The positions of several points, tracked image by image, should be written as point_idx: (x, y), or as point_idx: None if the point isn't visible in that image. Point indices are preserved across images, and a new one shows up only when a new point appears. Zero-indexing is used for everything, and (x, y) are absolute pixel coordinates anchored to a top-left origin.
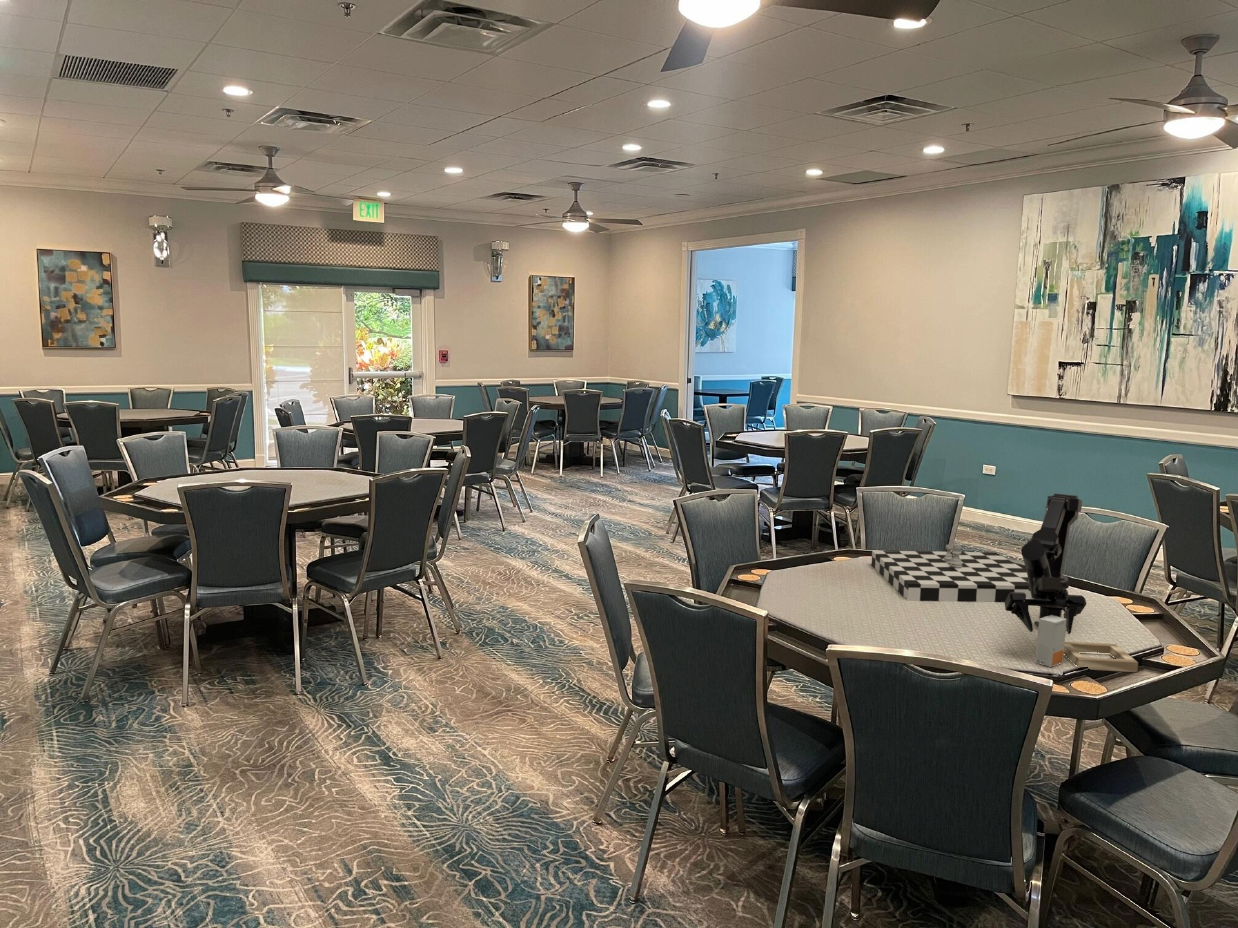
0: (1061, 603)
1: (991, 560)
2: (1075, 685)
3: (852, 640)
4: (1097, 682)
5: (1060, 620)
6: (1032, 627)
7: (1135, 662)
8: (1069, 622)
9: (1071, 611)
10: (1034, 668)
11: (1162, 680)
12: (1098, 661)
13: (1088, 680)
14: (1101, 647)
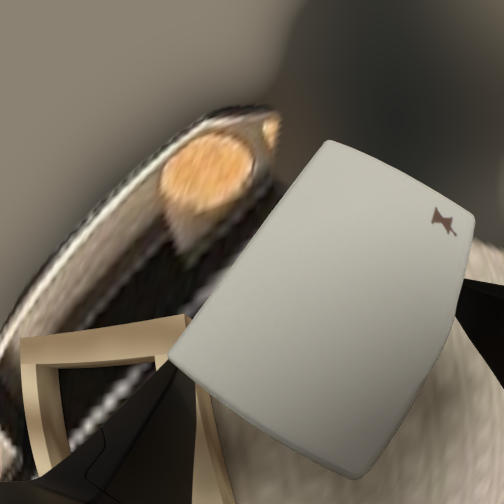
0: None
1: None
2: (238, 165)
3: None
4: (168, 211)
5: (262, 231)
6: (466, 284)
7: (25, 338)
8: (147, 406)
9: (60, 495)
10: None
11: (20, 295)
12: (114, 327)
13: (190, 216)
14: None
